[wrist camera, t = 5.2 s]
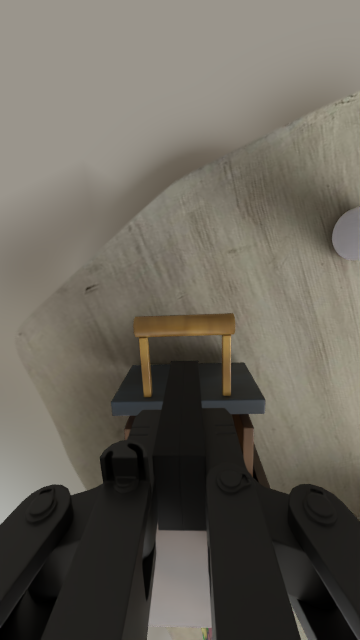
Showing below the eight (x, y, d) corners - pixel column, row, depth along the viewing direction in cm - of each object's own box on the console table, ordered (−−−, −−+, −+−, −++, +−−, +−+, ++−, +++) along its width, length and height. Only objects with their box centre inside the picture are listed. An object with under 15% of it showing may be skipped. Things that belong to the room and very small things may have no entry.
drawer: (126, 304, 23) (100, 320, 16) (245, 300, 22) (269, 314, 16) (142, 474, 27) (127, 540, 21) (242, 473, 27) (260, 542, 20)
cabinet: (134, 424, 27) (109, 497, 18) (246, 423, 26) (273, 497, 18) (144, 525, 30) (127, 625, 22) (244, 526, 29) (266, 629, 21)
